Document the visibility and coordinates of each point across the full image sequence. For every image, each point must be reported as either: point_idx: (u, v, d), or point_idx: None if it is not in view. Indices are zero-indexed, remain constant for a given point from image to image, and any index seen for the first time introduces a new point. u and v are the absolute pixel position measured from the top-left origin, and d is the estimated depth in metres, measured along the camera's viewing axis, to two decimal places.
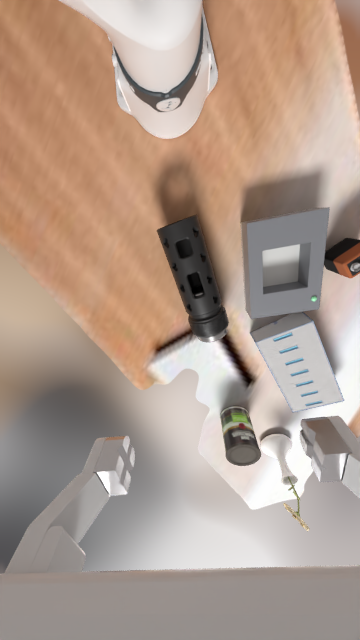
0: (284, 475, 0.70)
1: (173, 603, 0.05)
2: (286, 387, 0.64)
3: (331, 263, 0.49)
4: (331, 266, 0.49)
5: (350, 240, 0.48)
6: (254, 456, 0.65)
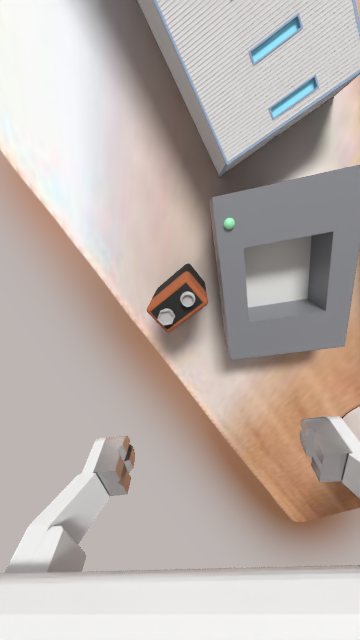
0: None
1: (173, 603, 0.05)
2: None
3: (202, 285, 0.30)
4: (198, 279, 0.30)
5: None
6: None
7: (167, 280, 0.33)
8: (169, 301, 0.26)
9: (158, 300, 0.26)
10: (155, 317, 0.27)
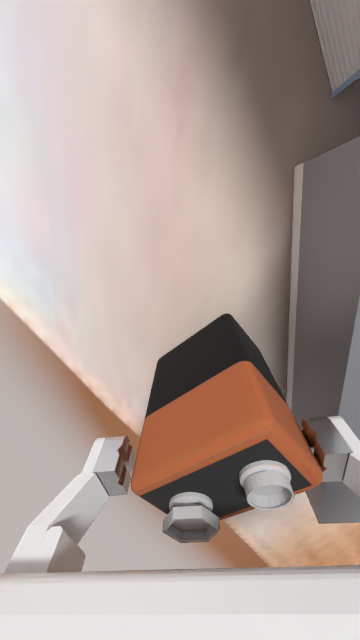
0: None
1: (173, 603, 0.05)
2: None
3: (272, 380, 0.12)
4: (261, 364, 0.12)
5: None
6: None
7: (180, 348, 0.15)
8: (202, 478, 0.08)
9: (166, 470, 0.08)
10: (156, 505, 0.09)
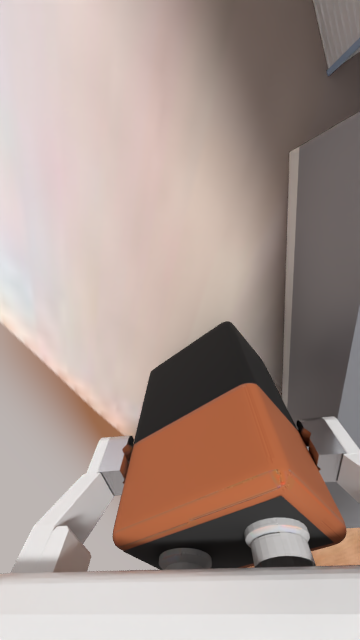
0: None
1: (173, 603, 0.05)
2: None
3: (280, 401, 0.10)
4: (267, 382, 0.10)
5: None
6: None
7: (175, 360, 0.14)
8: (198, 535, 0.07)
9: (154, 523, 0.07)
10: None
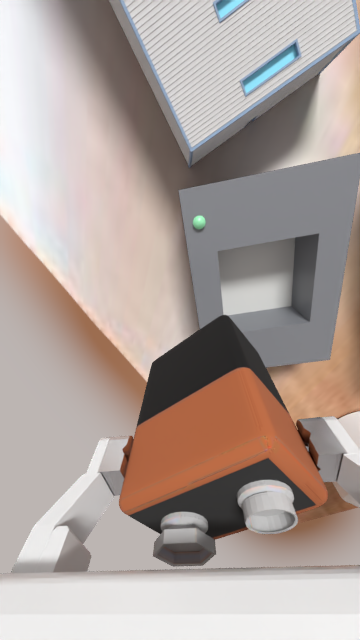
0: None
1: (173, 603, 0.05)
2: None
3: (272, 386, 0.11)
4: (260, 369, 0.11)
5: None
6: None
7: (175, 351, 0.14)
8: (196, 498, 0.07)
9: (157, 489, 0.08)
10: (146, 524, 0.08)
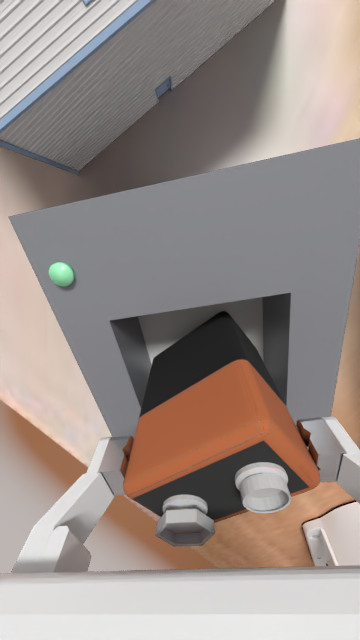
0: None
1: (173, 603, 0.05)
2: None
3: (269, 379, 0.12)
4: (258, 363, 0.12)
5: None
6: None
7: (176, 346, 0.15)
8: (196, 481, 0.08)
9: (159, 472, 0.08)
10: (149, 508, 0.09)
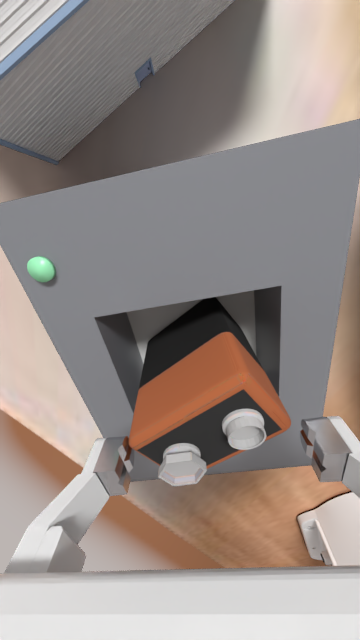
0: None
1: (173, 603, 0.05)
2: None
3: (251, 351, 0.13)
4: (241, 338, 0.13)
5: None
6: None
7: (169, 328, 0.16)
8: (190, 429, 0.09)
9: (159, 425, 0.10)
10: (151, 458, 0.10)
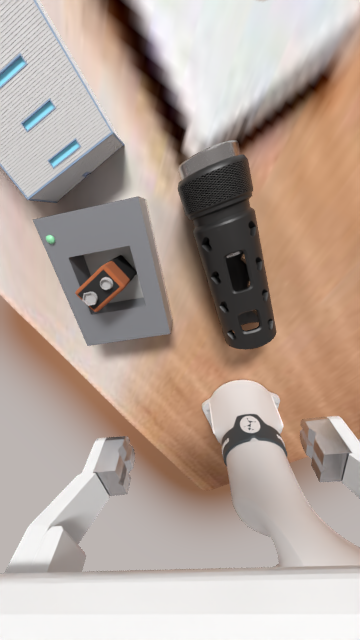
0: None
1: (173, 603, 0.05)
2: None
3: (127, 273, 0.35)
4: (124, 268, 0.35)
5: None
6: None
7: None
8: (92, 285, 0.31)
9: (83, 284, 0.31)
10: (82, 299, 0.32)
